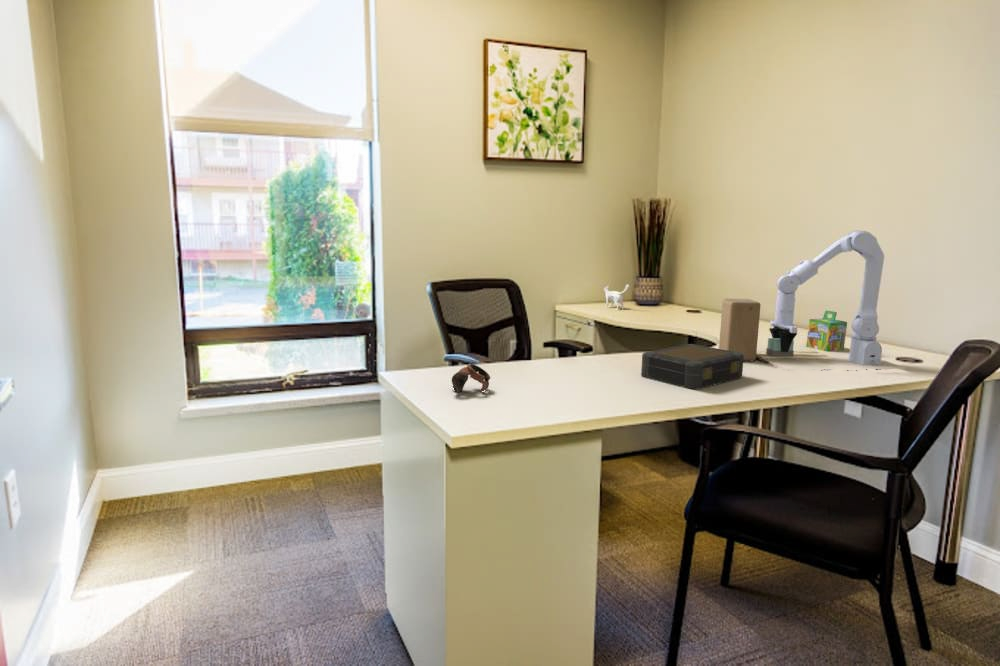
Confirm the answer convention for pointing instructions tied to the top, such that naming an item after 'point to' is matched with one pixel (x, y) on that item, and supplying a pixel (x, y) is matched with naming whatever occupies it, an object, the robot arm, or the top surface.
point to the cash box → (692, 365)
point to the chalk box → (826, 333)
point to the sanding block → (778, 348)
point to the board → (794, 356)
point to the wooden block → (740, 327)
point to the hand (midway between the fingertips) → (781, 350)
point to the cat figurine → (614, 296)
